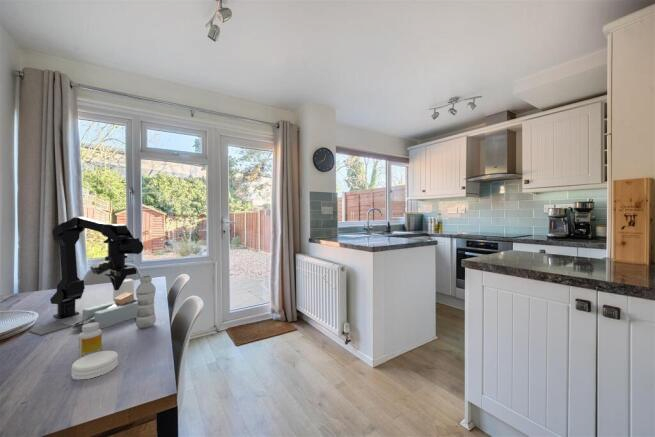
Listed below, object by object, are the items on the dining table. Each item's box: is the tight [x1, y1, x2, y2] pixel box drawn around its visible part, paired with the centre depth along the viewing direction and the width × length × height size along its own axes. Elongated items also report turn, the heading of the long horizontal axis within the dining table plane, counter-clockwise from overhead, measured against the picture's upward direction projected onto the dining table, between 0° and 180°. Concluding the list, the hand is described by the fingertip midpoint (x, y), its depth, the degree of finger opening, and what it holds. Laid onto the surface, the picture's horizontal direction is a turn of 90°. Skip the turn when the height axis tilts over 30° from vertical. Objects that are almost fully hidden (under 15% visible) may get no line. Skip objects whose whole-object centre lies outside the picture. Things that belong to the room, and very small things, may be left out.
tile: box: [114, 292, 135, 304], centre depth 116 cm, size 5×5×2 cm
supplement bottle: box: [78, 322, 103, 359], centre depth 84 cm, size 5×5×10 cm
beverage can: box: [112, 278, 135, 302], centre depth 132 cm, size 8×8×12 cm
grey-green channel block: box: [81, 297, 138, 330], centre depth 113 cm, size 18×12×6 cm, turn 157°
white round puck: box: [70, 350, 119, 380], centre depth 76 cm, size 10×10×4 cm
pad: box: [28, 321, 73, 337], centre depth 103 cm, size 9×9×1 cm
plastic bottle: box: [135, 275, 157, 329], centre depth 105 cm, size 6×7×20 cm
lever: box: [71, 299, 134, 331], centre depth 110 cm, size 21×4×1 cm, turn 157°
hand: (116, 290), depth 113 cm, fingers closed
